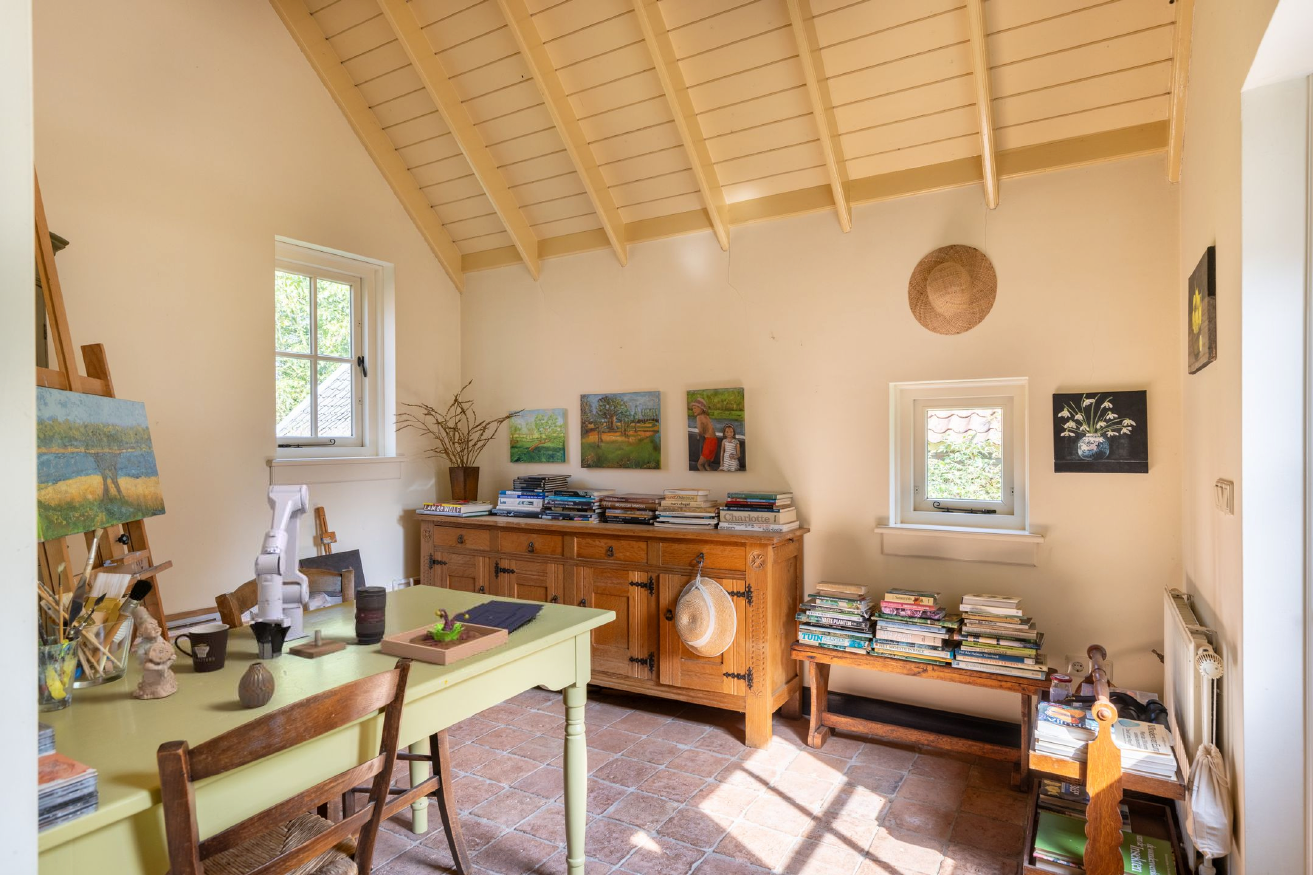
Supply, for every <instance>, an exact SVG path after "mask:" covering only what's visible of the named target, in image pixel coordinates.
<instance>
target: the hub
mask: <svg viewBox="0 0 1313 875" xmlns="http://www.w3.org/2000/svg"><path fill="white" fill-rule="evenodd" d="M257 648H258V659H259V660H260V659H261V660H268V659H269V660H272V659H275V658H280V657H281V656H282V655H283V650H282V651H281V652H278V653H273V652H272V647H271V639H265V640H261V641H260V642H259V643H258V644H257Z"/></svg>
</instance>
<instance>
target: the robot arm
mask: <svg viewBox="0 0 1313 875" xmlns="http://www.w3.org/2000/svg"><path fill="white" fill-rule="evenodd" d="M309 495H310V494H309V488H308V486H307V484H292V485H289V484H287V485H285V484H283V485H275V484H272V485H270V486H269V487H268V489H267V495H266V496H267V497H266V498H267V504H268V505H269V509H270V510H271V511H272V515H271V516H272V518H271V525H270V529H269V530H268V531H266V532H265V534H264V537H263V542H262V545H261V551H260V553H259V554H260V555H258V556H256V557H255V559H254V575H255V582H256V584H257V611H256V612H252V613H251V612H250V614H249V616H250V617H249V619H250V621H251V622H254V623H251V624H249V628H250V629H251V631H252V633H253V635H254V637H255V640H256V643H257V645H258V643H259V642H260V641H261V640H265V639H271V647H272V652H273V653H278V652H281V651H282V652H283V646H284V643H285V642H289V641H292V640H296V639H300V638H304V637H308V636H310V633H309V632H303V631H304V627H303V625H304V610H303V608H304V605H305V604H306V603H308V601H309V598H310V588H309V587H310V586H309V579H308V576H306V575H305V574H303V573H301V572H300V571H299V560H300V558H299V557H300V551H299V550H300V537H301V536H300V532H301V531H300V530H301V521H302V520H301V519H302V515H304V514H307V513H308V510H309ZM284 582H285V583H284ZM286 582H288V583H286ZM289 582H291V583H289Z"/></svg>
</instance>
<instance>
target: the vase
mask: <svg viewBox="0 0 1313 875" xmlns="http://www.w3.org/2000/svg"><path fill="white" fill-rule="evenodd" d="M275 682H276V681H275V677H274V676H273V673H272V672H271V671H269V669H268V668H267V667H266V665H264V662H262V661H257V662H256V661H255V662H252V663H250V664H249V666H248V669H247V670H246V671H245V672H244V674H243V675H242V676H241V677H240V680H239V683H238V687H237V693H238V694H237V696H238V698H239V699H238V700H239V701H240V702H241V703H242V705H243V706H245V707H247V708H249V709H250V708H259V707H264V706H265V705H267V704H268V703H269V702H270V701H271V699H272V698H273V696H274V693H275V690H276V689H275V688H276V683H275Z"/></svg>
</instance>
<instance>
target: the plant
mask: <svg viewBox="0 0 1313 875" xmlns="http://www.w3.org/2000/svg"><path fill="white" fill-rule="evenodd" d="M442 612H443V613H442ZM461 614H463V615H464V618H465V619H468V615H467V614H466V613H463V612H462V611H461V612H458V613H456V614H454V615H453V617H452V618H449V614H448V611H446V609H444V608H439V609H436V611H435V616H436V617H439V619H441V620H443V621H445V623H444V625H442V624H439V623H438V622H437V623H438V624H437V627H435V626H433V628H434V629H435V630H436V632H434V631H433V630H431V629H427V630H428V631H427V634H426V633H425V634H422V635H419V636H416V637H414V638H412V639H410V642H409V643H410V644H415V645H421V646H426V647H432V648H437V649H442V650H447V649H450V648H453V647H456V646H459V645H462V644H465V643H468V642H471V641H474V640H476V639H479V638H482V637H484V636H482V635H480V634H478V633H477V632H471V631H470V630H469V631H463V629H464V628H462V629H460V626H461V623H457V624H455V625H454V622H455V619H456V617H457V616H458V615H461ZM449 620H450V621H449ZM459 629H460V630H459ZM428 632H430V633H428Z"/></svg>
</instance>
